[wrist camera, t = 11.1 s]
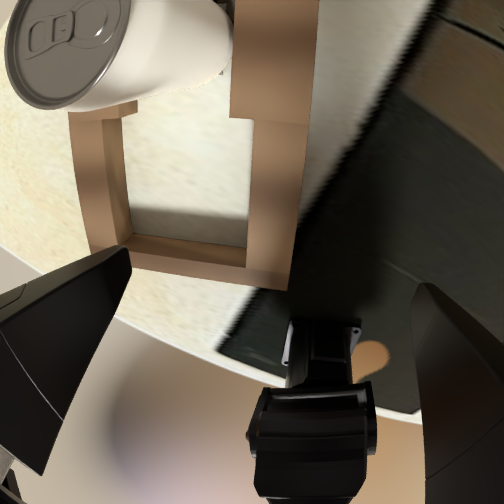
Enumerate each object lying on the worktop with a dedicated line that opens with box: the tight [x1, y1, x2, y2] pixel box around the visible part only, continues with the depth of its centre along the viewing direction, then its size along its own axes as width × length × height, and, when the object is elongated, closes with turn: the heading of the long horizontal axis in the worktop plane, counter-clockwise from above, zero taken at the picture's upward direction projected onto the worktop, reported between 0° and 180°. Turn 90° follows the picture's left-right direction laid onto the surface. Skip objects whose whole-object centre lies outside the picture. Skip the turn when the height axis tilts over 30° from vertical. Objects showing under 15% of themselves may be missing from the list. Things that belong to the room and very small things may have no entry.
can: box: [4, 0, 234, 112], centre depth 11 cm, size 6×6×12 cm
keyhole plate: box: [68, 0, 319, 291], centre depth 18 cm, size 22×16×2 cm
